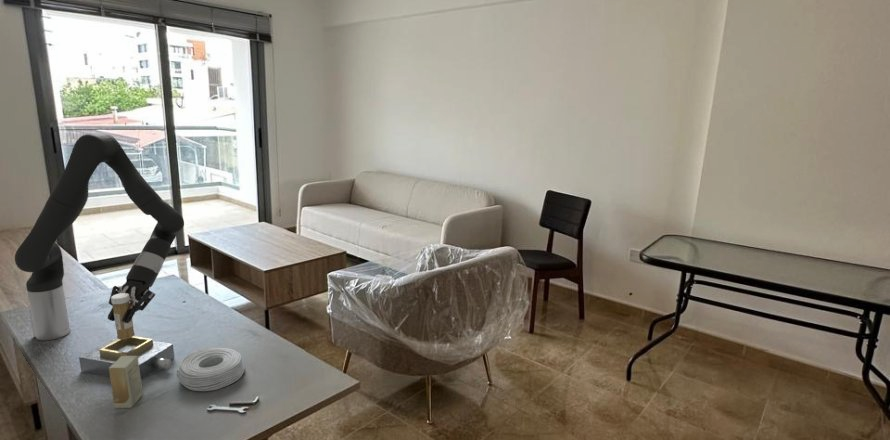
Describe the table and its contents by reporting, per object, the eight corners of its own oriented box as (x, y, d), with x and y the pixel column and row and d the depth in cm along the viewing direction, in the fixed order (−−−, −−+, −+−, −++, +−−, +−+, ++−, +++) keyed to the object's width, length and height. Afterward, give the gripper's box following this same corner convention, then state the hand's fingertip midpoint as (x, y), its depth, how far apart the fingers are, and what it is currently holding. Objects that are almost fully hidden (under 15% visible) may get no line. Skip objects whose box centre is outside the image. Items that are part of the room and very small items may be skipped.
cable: (175, 372, 144) (173, 354, 142) (236, 355, 154) (234, 338, 153) (185, 401, 130) (183, 381, 129) (251, 381, 141) (250, 363, 139)
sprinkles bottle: (135, 337, 144) (129, 296, 140) (116, 341, 141) (110, 299, 138) (134, 331, 147) (129, 291, 144) (117, 335, 145) (110, 294, 142)
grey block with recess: (81, 372, 142) (77, 350, 140) (121, 349, 155) (119, 329, 153) (149, 384, 137) (146, 362, 135) (185, 360, 150) (183, 339, 148)
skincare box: (127, 394, 132) (121, 354, 129) (143, 394, 132) (138, 354, 129) (113, 409, 126) (107, 367, 123) (130, 408, 126) (125, 367, 123)
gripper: (118, 261, 148) (88, 313, 139) (157, 266, 145) (129, 319, 136) (134, 272, 154) (107, 322, 145) (172, 276, 151) (146, 328, 143)
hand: (117, 320), depth 141 cm, fingers closed on sprinkles bottle, 4 cm apart
